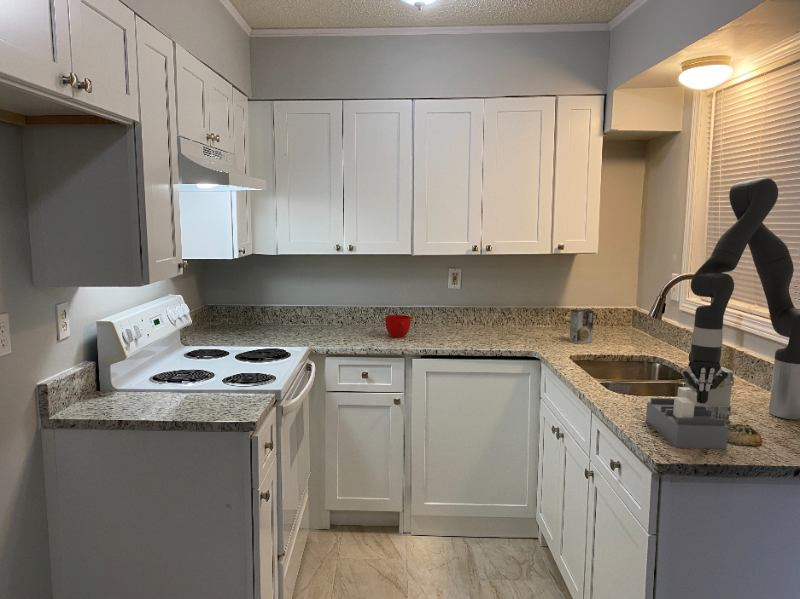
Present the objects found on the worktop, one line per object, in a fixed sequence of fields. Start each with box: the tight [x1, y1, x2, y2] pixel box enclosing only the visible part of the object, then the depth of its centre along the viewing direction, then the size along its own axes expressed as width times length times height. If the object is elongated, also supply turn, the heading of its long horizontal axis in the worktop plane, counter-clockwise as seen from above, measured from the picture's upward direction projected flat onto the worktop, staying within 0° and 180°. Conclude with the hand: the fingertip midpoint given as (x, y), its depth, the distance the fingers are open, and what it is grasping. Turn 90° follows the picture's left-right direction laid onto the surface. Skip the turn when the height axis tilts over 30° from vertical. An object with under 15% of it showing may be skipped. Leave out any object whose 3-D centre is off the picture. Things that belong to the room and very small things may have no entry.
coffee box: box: [569, 308, 595, 345], centre depth 280 cm, size 9×6×16 cm
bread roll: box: [726, 423, 763, 447], centre depth 155 cm, size 11×11×5 cm
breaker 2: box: [673, 396, 695, 418], centre depth 152 cm, size 3×5×5 cm, turn 178°
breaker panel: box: [645, 397, 729, 450], centre depth 158 cm, size 13×20×8 cm, turn 178°
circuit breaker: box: [684, 366, 735, 422], centre depth 176 cm, size 8×14×15 cm, turn 2°
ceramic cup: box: [384, 314, 412, 339], centre depth 284 cm, size 13×17×10 cm
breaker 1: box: [676, 386, 697, 406], centre depth 162 cm, size 3×5×5 cm, turn 178°
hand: (701, 402), depth 162 cm, fingers closed
